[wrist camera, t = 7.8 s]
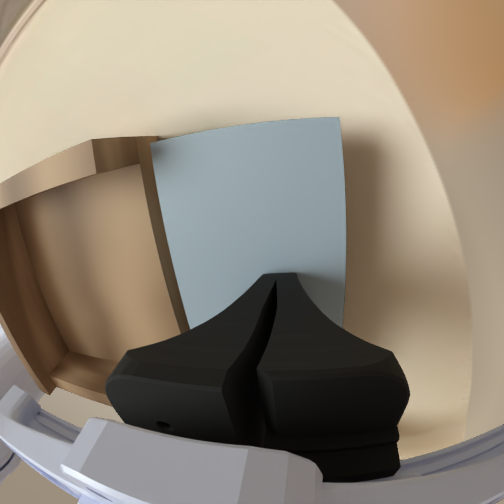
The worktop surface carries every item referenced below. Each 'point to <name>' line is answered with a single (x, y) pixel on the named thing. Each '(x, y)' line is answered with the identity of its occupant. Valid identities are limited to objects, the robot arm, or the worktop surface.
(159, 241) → the brown open rectangular box
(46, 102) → the worktop surface
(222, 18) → the worktop surface
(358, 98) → the worktop surface
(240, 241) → the panel
